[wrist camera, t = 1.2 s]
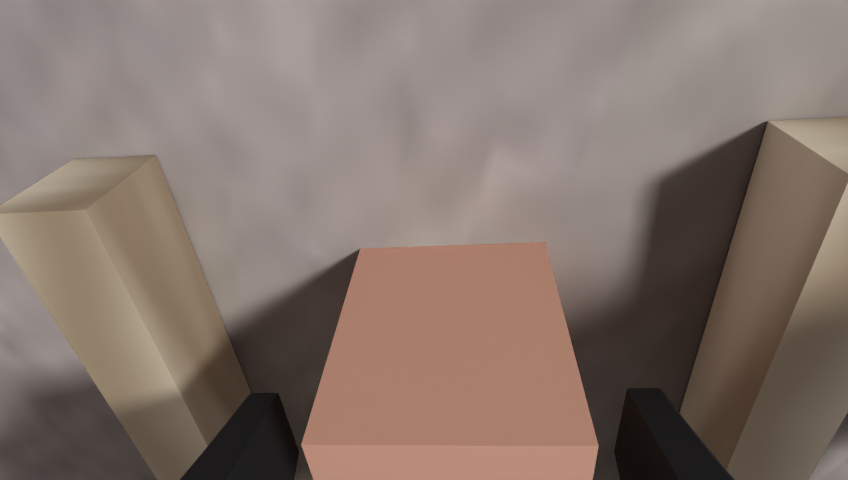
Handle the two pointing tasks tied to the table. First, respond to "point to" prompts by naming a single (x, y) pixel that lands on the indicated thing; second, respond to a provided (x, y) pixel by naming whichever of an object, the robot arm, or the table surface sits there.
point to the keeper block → (451, 371)
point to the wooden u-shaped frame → (227, 387)
